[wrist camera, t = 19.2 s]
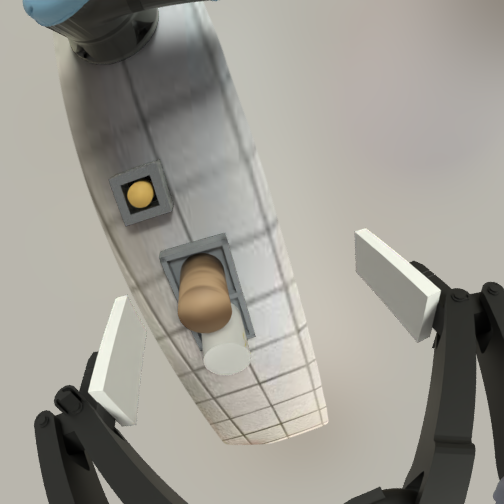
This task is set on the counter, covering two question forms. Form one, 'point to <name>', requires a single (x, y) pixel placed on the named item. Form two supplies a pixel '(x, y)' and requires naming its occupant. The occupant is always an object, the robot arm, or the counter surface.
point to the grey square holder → (153, 208)
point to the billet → (203, 294)
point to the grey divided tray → (221, 250)
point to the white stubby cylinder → (227, 347)
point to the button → (141, 193)
